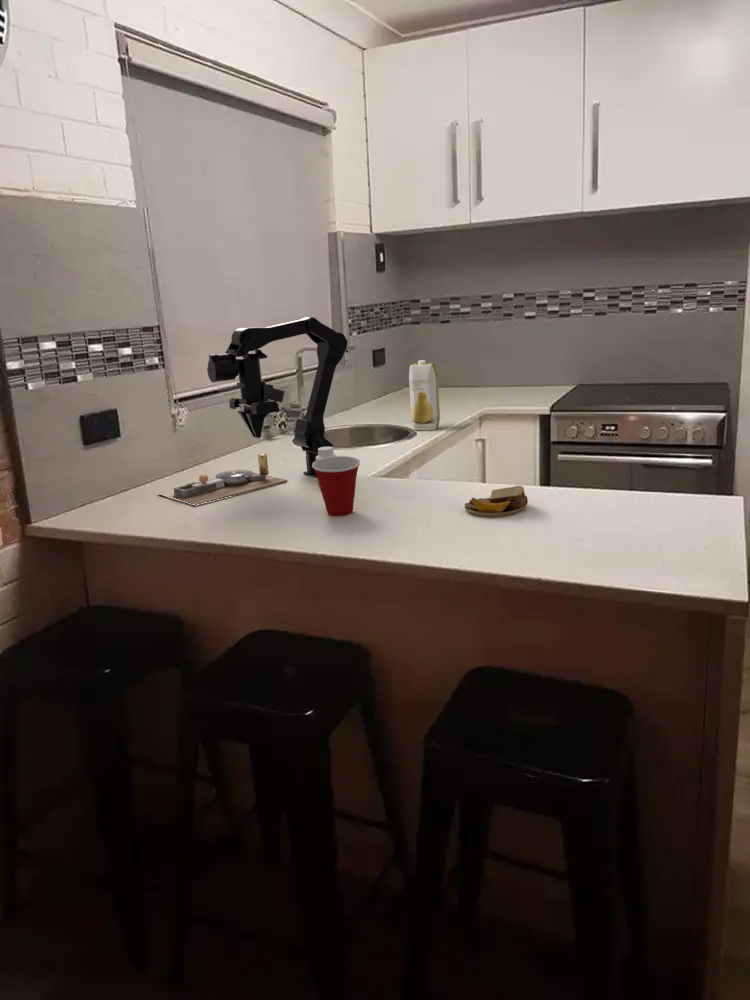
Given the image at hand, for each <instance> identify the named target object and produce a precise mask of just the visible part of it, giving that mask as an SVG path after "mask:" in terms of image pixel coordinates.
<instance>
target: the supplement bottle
mask: <svg viewBox="0 0 750 1000" xmlns="http://www.w3.org/2000/svg"><path fill="white" fill-rule="evenodd" d="M334 451H335V450H334V446H333V447H321V448H318V456H316V460H319V459H322V458H327V457H335V456H337V454H335V453H334ZM316 478H317V477H316ZM317 485H318V488H320V484H319V481H318V478H317Z"/></svg>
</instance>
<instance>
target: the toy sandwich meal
mask: <svg viewBox="0 0 750 1000" xmlns="http://www.w3.org/2000/svg"><path fill="white" fill-rule="evenodd" d="M528 503H529V500H528V497H527V495H526V494H525V488H524V486H523V485H516V486H511V487H503V488H497V489H492V490H491V494H490V495H489V497H485V498H482V497H480V498H475V497H471V499H470V500H469V501H468V502H465V503H464V509H465V510H466V511H467V512H468V513H469V514H471V515H473V516H476V517H482V518H501V517H502V518H503V517H508V516H511V515H512V516H513V515H516V514H517V513H518V512H520V510H521V509H523V508H525V507H526V506H528Z"/></svg>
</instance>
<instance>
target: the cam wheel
mask: <svg viewBox="0 0 750 1000" xmlns="http://www.w3.org/2000/svg"><path fill="white" fill-rule="evenodd" d="M267 455H268V454H267V453H259V454H257V459H258V460H257V461H258V462H257V463H258V469H259V473H258V474H259V475H253V473H254V472H253V471H252V470H250V469H249V470H248V469H235V470H226V471H223V472H219V473H217V474H216V475H215V478H216V479H222V480H224V486H237V485H242V484H246V483H248V482H250V481H255V480H264V479H266V476H265V475H267V476H269V475H270V474H269V473H270V472H269V464H268V456H267Z"/></svg>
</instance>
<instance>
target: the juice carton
mask: <svg viewBox="0 0 750 1000" xmlns="http://www.w3.org/2000/svg"><path fill="white" fill-rule="evenodd" d="M408 372H409V373H408V381H409V382H408V383H409V398H410V400H409V401H410V415H411V426H412V428H413V431H415V430H423V431H436V430H437V429H438V428H439V426H440V421H441V419H440V418H441V414H440V413H441V411H440V409H441V408H440V391H439V390H440V388H439V387H440V386H439V372H438V367H437V364H436V362H428V363H427V362H426V360H425V359H420V360H417V363H416V362H415V363H412V364H410V366H409V371H408Z"/></svg>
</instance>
